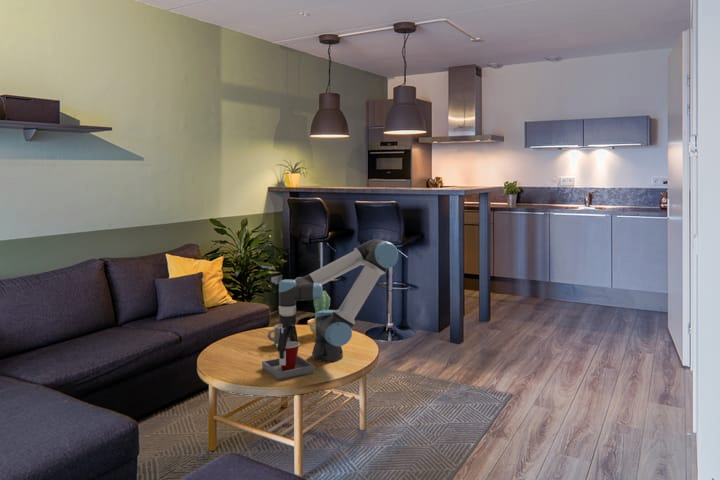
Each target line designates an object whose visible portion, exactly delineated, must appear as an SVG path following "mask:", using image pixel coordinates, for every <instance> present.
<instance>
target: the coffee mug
mask: <svg viewBox="0 0 720 480" xmlns="http://www.w3.org/2000/svg"><path fill="white" fill-rule="evenodd" d="M282 327H283V325H282V324H280V323H279V324H275V325H274V328H272V329H271V328H270V329H269V330H268V332H267V337H268V340H270V341H272V342H274V346H275V347H276V345H277V344H278V341H279V334H280V328H282ZM272 333H273V334H274V335H273V337H271V334H272ZM290 341H291V340H290V338H289V337H288V339H287V342H290ZM291 342H292V341H291Z"/></svg>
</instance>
